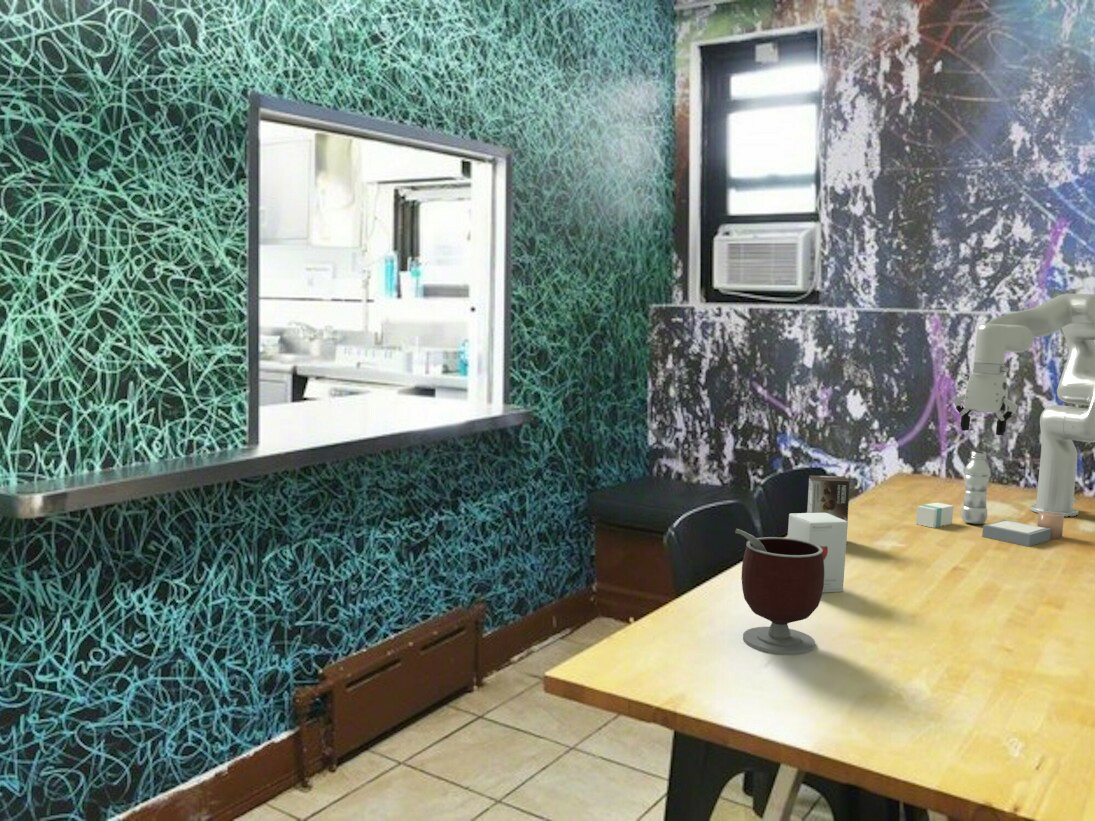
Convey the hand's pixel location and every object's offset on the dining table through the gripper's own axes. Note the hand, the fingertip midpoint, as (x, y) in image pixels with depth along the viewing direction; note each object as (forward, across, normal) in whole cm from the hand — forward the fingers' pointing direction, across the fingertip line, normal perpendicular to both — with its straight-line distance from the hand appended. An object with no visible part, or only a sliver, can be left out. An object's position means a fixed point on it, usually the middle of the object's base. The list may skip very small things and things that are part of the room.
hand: (982, 432), depth 265 cm
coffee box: (+27, +12, +52) cm, 60 cm away
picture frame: (+26, -15, +7) cm, 30 cm away
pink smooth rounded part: (+25, -19, -3) cm, 32 cm away
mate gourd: (+28, -26, +123) cm, 129 cm away
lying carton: (+26, +6, +10) cm, 28 cm away
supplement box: (+28, -10, +89) cm, 93 cm away
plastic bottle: (+26, 0, 0) cm, 26 cm away
